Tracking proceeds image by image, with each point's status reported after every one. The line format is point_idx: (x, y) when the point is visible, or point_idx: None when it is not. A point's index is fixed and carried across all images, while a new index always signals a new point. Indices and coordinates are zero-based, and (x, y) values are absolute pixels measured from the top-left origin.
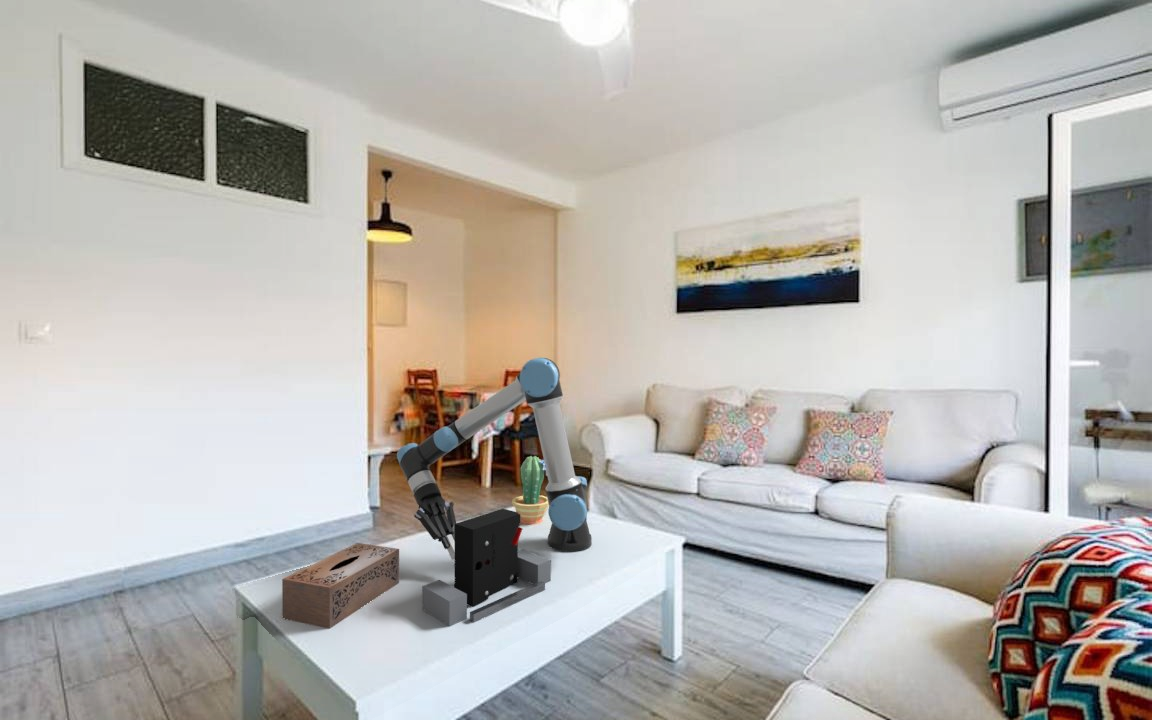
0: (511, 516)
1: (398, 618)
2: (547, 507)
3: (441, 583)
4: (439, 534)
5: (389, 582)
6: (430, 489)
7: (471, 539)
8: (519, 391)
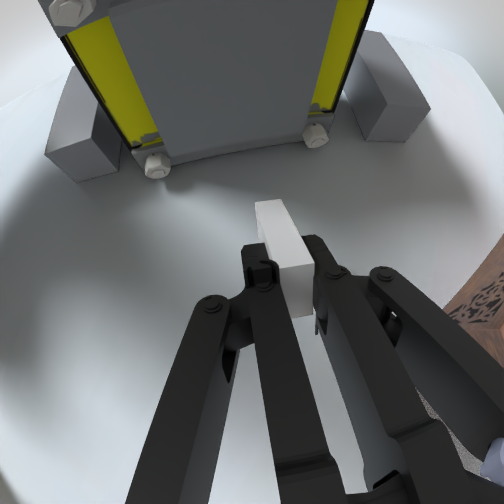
0: None
1: (446, 147)
2: None
3: (386, 85)
4: (372, 272)
5: (461, 300)
6: None
7: None
8: None
